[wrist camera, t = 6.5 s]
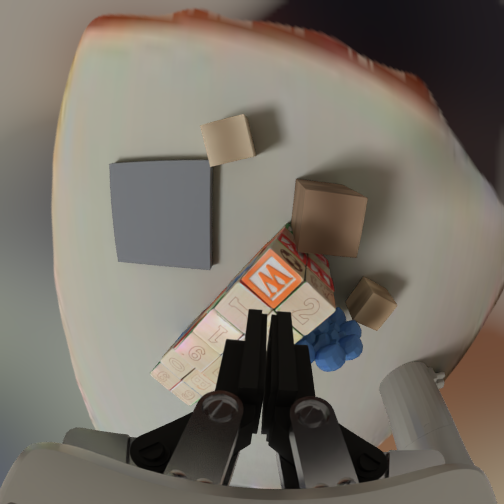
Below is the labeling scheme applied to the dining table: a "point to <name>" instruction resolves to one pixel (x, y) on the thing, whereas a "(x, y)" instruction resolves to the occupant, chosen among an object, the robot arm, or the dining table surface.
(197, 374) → the stack of blocks
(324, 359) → the grapes
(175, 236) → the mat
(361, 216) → the walnut block
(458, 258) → the dining table surface
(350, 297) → the oak cube
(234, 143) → the maple cube
